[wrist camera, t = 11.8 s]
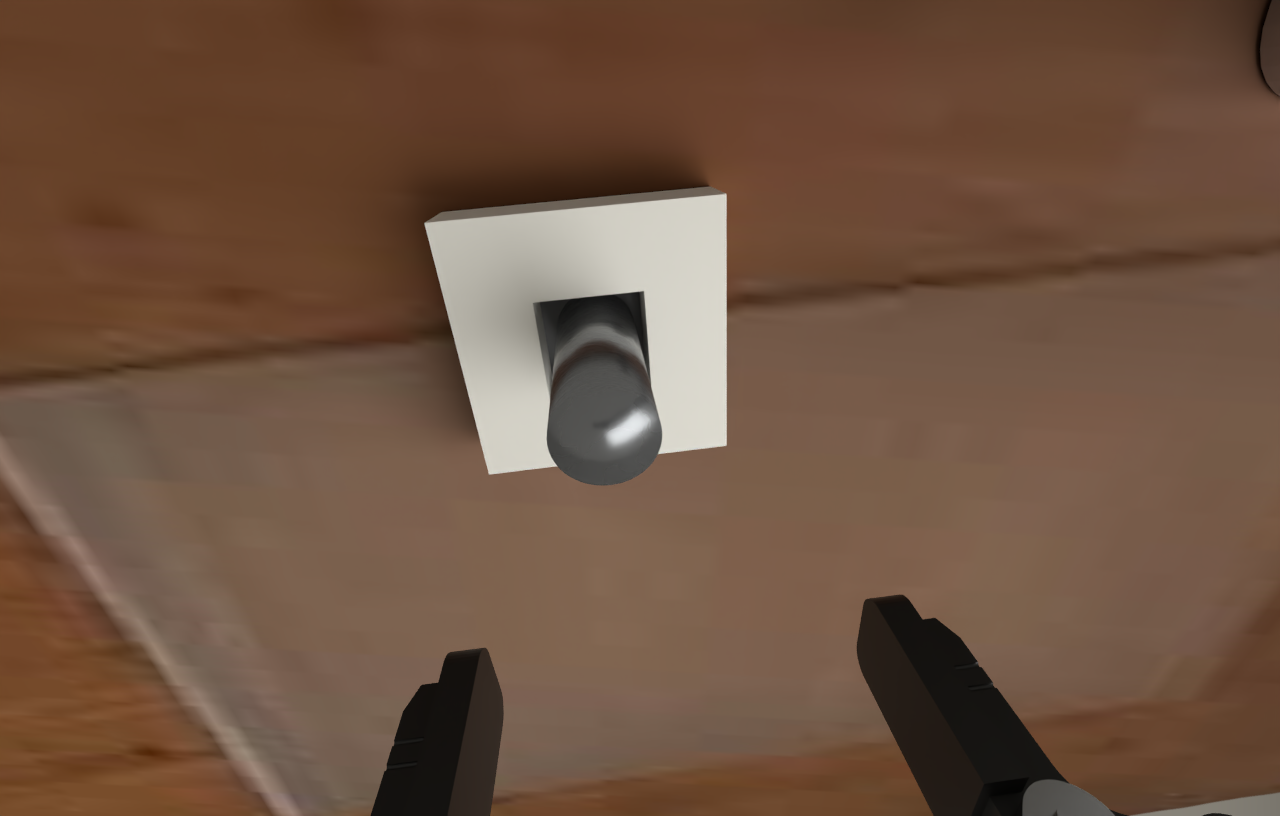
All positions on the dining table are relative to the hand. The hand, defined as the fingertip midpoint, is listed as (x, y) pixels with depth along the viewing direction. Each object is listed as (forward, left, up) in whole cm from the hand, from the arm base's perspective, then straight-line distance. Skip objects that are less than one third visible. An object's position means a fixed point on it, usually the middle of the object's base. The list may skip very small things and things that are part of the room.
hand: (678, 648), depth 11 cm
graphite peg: (+1, 0, -22) cm, 22 cm away
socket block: (+1, 0, -22) cm, 22 cm away
